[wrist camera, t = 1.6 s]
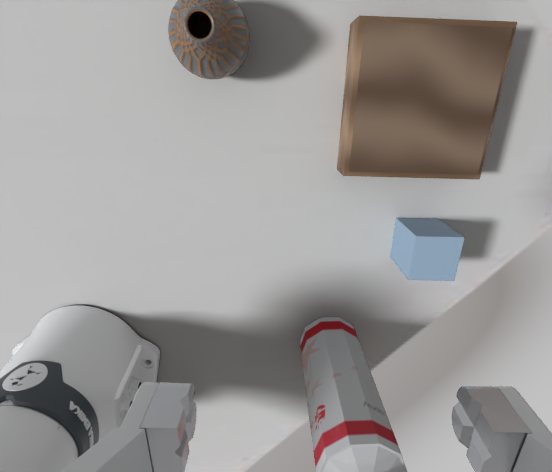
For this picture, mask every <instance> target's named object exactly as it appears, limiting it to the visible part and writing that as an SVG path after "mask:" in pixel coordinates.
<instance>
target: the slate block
mask: <svg viewBox="0 0 552 472" xmlns="http://www.w3.org/2000/svg"><path fill="white" fill-rule="evenodd" d="M464 238H465V237H464V236H462V235H461V234H459V233H458V232H457V231H455V230H454V229H452V228H451V227H449V226H448V225H447V224H445V223H444V222H442V221H441V220H440V219H428V218H396V223H395V229H394V236H393V242H392V248H391V255H390V257H391V259H392V260H393V261H394V262H395V264H396V265H397V266H398V268H399V269H400V270H401V272H402V273H403V274H404V275H405V277H406V278H407V279H408V280H435V281H454V280H455V276H456V272H457V267H458V263H459V259H460V255H461V251H462V247H463V242H464Z"/></svg>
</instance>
